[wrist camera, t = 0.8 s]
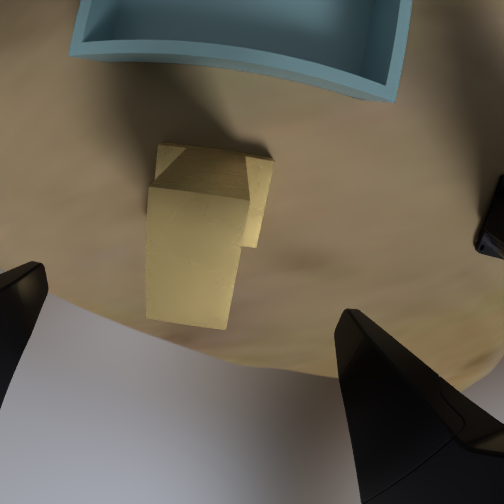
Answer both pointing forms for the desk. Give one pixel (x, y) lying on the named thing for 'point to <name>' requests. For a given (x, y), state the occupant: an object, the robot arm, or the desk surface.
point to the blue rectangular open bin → (257, 38)
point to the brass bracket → (200, 230)
